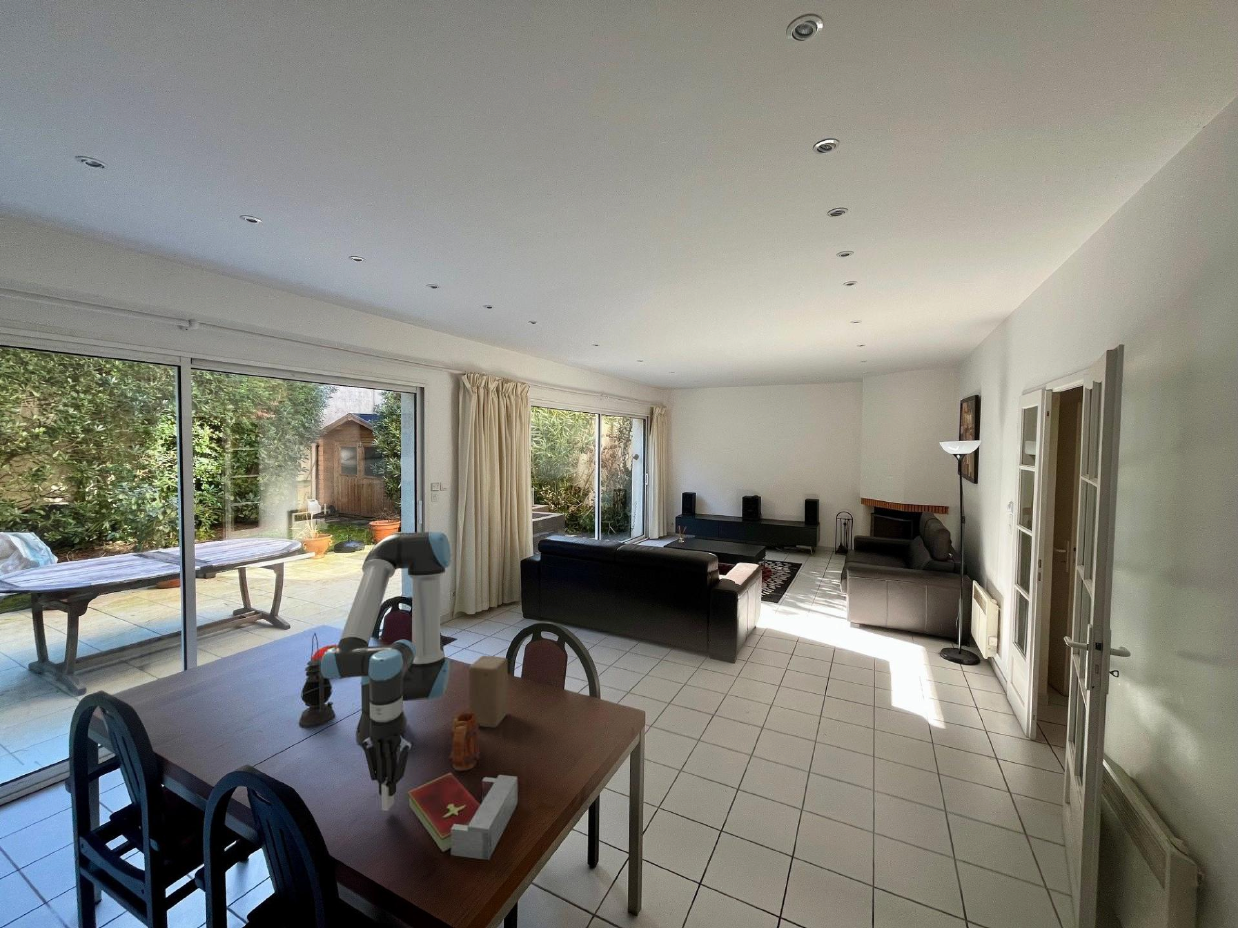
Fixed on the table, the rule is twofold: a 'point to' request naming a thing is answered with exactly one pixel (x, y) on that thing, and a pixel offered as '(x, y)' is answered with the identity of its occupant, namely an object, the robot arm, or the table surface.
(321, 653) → the tomato
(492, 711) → the wooden block
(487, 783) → the end cap
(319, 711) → the lantern
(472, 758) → the mug
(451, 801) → the hardcover book
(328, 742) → the table surface
